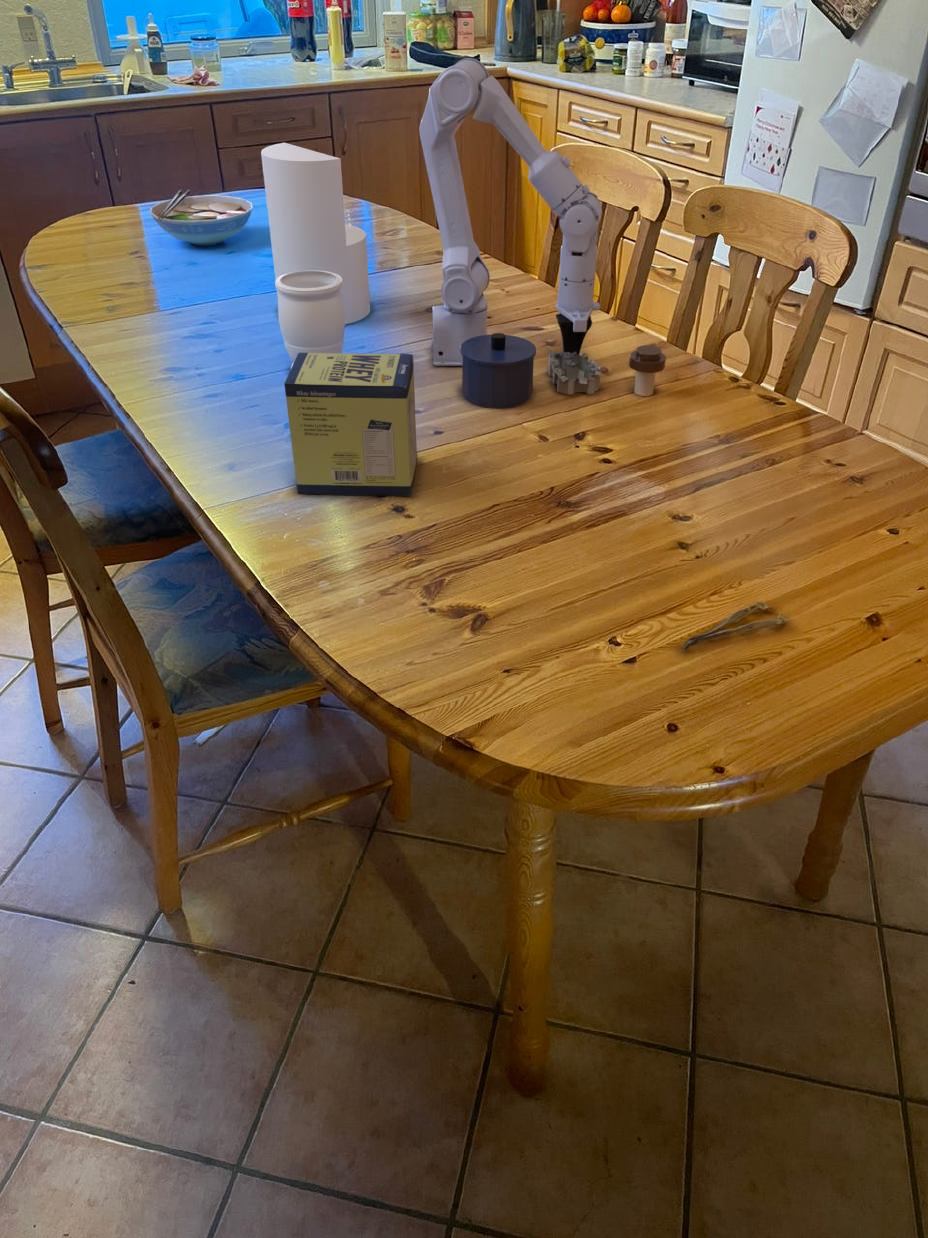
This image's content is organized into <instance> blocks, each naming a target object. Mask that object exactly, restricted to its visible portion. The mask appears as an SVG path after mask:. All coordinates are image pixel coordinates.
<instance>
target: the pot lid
mask: <svg viewBox="0 0 928 1238" xmlns="http://www.w3.org/2000/svg"><path fill="white" fill-rule="evenodd" d="M460 353H461V355H462V356H463V357H464V358H466V359H467V360H469V361H472V362H475V363H479V364H483V365H491V366H508V365H516V364H520V363H524V362H527V361H529V360H531V359H532V358H533V357H534V358H535V356H536V355H537V346H536V345H535V343H533V342H532V341H530V340H528V339H526V338H523V337H521V336H516V335H510V334H505V333H503V332H494V333H491V334H487V335H482V336H477V337H473V338H470V339H468V340H466V341H465V342H463V343H462V344H461V346H460Z"/></svg>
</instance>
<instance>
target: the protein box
mask: <svg viewBox="0 0 928 1238" xmlns="http://www.w3.org/2000/svg"><path fill="white" fill-rule="evenodd" d="M414 369H415V368H414V355H413V354H411V353H350V352H349V353H348V352H347V353H345V352H344V353H300V352H299V353H298V355H297V357H296V359H295V362H294V364H293V366H292V368H291V367H290V370H289V373H288V375H287V377H286V379H285V381H284V383H283V385H284V392H285V400H286V401H285V402H286V409H287V410H286V411H287V417H288V427H289V433H290V442H291V451H292V458H293V459H292V460H293V465H294V466H293V467H294V477H295V484H296V493H297V494H298V495H337V496H338V495H339V496H340V495H341V496H384V497H386V496H387V497H388V496H389V497H410V496H412V494H413V487H414V482H415V476H416V470H417V464H418V448H417V428H416V427H417V423H416V422H417V421H416V395H415V394H416V393H415V370H414ZM297 494H296V495H297Z"/></svg>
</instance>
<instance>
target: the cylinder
mask: <svg viewBox="0 0 928 1238" xmlns="http://www.w3.org/2000/svg"><path fill="white" fill-rule="evenodd" d="M260 155H261V157H260V158H261V164H262V172H263V173H262V175H263V183H264V191H265V200H266V208H267V209H266V210H267V217H268V226H269V227H268V228H269V236H270V243H271V244H270V245H271V252H272V262H273V270H274V277H275V279H274V280H276V279H277V278H278V277H279V276H281V275H284V274H287V273H291V272H296V271H307V270H317V271H326V272H331V273H335V274H337V275H339V276H340V277H341V278H342V287H341V288H340V289H339V291H340V294H341V297H342V300H343V305H344V312H345V325H349V324H353V323H356V322H359V321H361V320H363V319H365V318H366V317H367V316H368V315H369V314H370V313H371V298H370V296H371V295H370V278H369V262H368V260H369V259H368V243H367V232H366V231H365V230H364V229H362V228H360V227H359V226H355V225H351V224H346V217H345V207H344V206H345V204H344V189H343V175H342V162H341V161H342V159H341V158H340V157H336V156H332V155H329V154H326V153H323V152H318V151H316V150H312V149H309V148H305V147H301V146H297V145H294V144H291V143H287V142H281V143H276V144H272V145H267V146H266V147H264V148H262V149H261V152H260ZM279 293H280V292H279V291H278V290H277V289H276V296H277V299H278V298H279Z"/></svg>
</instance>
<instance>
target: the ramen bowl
mask: <svg viewBox="0 0 928 1238" xmlns="http://www.w3.org/2000/svg"><path fill="white" fill-rule="evenodd" d="M190 193H191V191H190V189H187V190H185V191H184V192H183V189H179V190H178V191H177V192H176V194H175V195H174V197H173V198H172V199H168V200H165V201H164V200H163V201H161V202H159V203H156V204H155V205H153V206H151V207H150V210H149V214H150V215H151V217H152V218H153V220H154V221H155V222H156V224H157V225H158V226H159V227H160V228H161V229H162V230H163V231H165V232H166V233H167V234H168V235H170V236H171V237H173V238H174V239H177V240H180V241H184V242H188V243H189V244H191V245H194V246H204V247H205V246H207V247H208V246H214V245H218V244H221V243H222V242H224V241H225V240H228V239H229V238H231V237H232V238H233V236H235V235H237V234H238V233H239V232H241V230H242V229H244V227H245V226H246V224H247V223H248V221H249V219H250V217H251V213H252V210H253V202H250V201H249V200H247V199H245V198H240V197H235V196H228V195H216V194H215V195H213V194H212V195H192V196H188V195H189V194H190Z"/></svg>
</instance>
